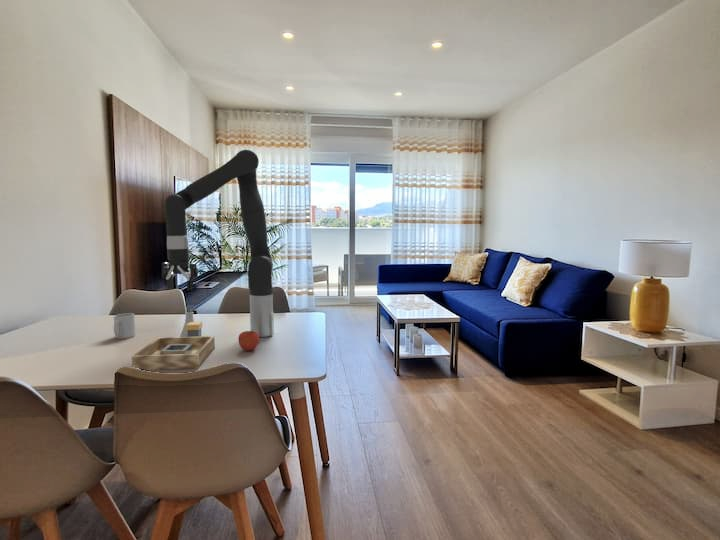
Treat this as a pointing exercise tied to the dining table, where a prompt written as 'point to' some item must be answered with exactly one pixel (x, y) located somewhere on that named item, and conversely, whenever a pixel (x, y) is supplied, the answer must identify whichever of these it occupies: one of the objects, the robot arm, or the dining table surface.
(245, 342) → the apple
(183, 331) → the flask
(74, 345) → the dining table surface
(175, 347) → the frame
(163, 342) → the walled box
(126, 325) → the cup
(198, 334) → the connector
